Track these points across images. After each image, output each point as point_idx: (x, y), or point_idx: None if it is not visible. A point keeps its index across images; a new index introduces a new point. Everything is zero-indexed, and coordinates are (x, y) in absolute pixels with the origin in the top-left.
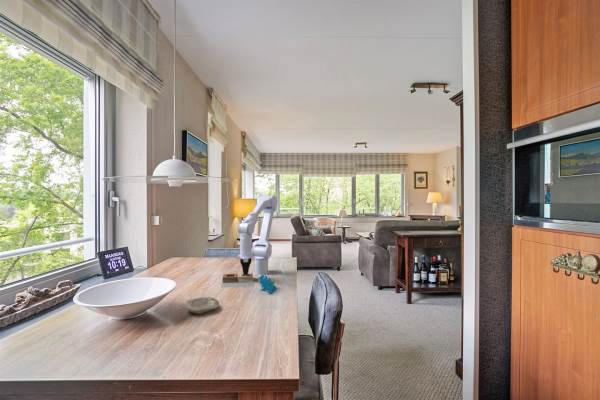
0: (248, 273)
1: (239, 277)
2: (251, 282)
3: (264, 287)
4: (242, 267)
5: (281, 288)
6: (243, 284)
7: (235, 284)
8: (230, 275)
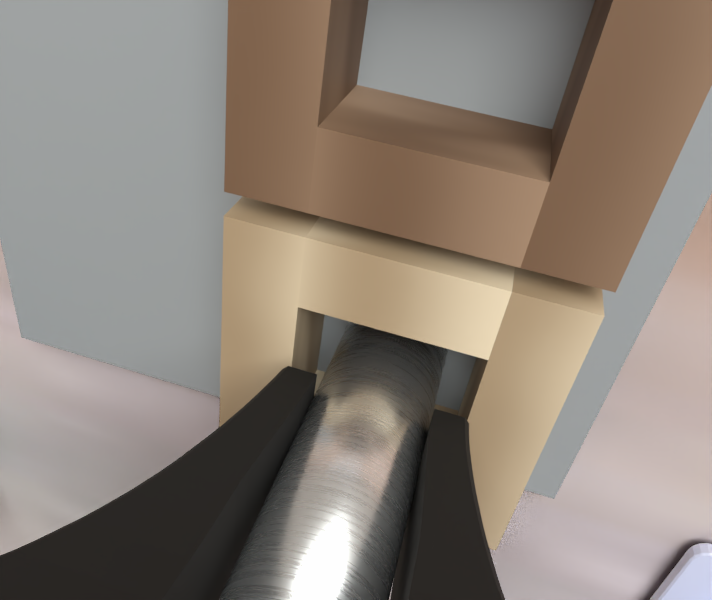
0: (500, 487)
1: (226, 235)
2: (215, 365)
3: None
4: (148, 480)
5: (29, 533)
6: (109, 220)
7: (113, 72)
8: (590, 46)
